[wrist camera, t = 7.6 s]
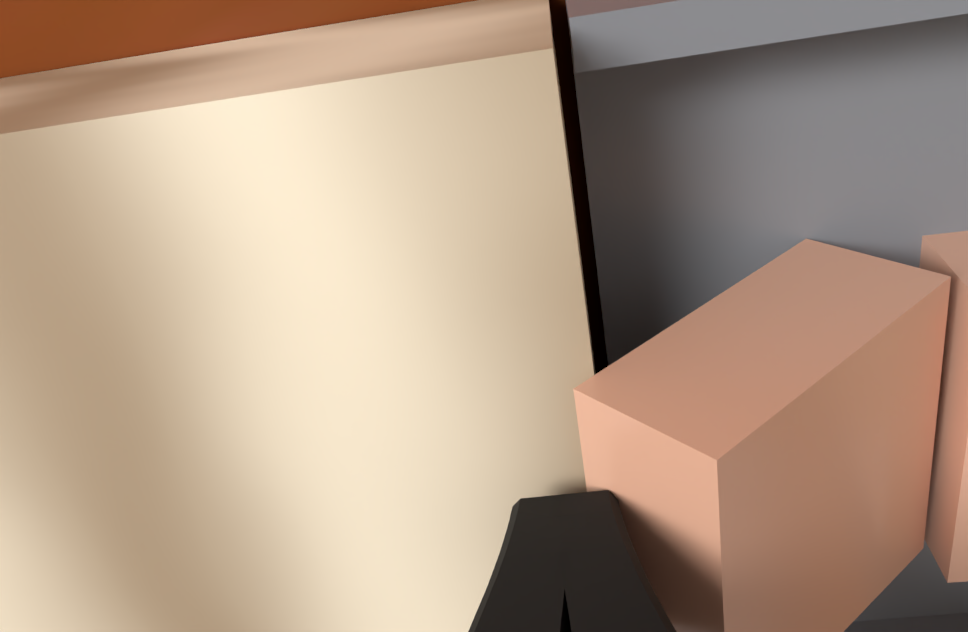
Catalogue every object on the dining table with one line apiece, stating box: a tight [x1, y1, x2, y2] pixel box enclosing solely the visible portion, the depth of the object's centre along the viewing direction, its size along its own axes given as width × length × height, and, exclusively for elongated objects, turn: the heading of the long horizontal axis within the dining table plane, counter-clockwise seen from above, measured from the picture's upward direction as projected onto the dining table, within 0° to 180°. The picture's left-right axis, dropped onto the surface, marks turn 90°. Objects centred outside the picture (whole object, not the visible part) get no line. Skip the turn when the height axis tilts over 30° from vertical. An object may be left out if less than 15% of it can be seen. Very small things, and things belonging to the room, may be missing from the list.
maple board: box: [0, 0, 596, 632], centre depth 14 cm, size 13×12×3 cm
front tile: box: [573, 239, 951, 632], centre depth 12 cm, size 4×4×2 cm
